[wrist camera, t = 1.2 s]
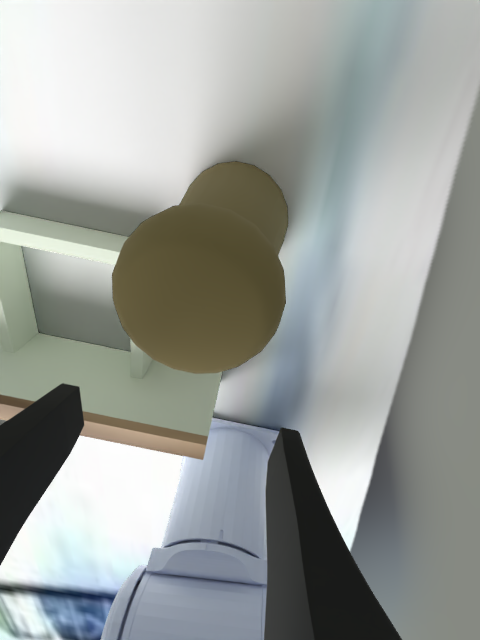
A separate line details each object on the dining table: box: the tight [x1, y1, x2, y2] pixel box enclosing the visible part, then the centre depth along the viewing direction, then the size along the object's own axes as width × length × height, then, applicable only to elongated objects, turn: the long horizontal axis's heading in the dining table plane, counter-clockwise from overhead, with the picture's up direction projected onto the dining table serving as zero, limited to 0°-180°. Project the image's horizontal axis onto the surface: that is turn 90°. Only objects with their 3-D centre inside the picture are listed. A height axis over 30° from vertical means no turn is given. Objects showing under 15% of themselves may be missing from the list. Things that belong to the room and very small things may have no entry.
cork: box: [112, 161, 288, 374], centre depth 13 cm, size 6×6×11 cm
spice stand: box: [0, 210, 222, 460], centre depth 18 cm, size 10×20×7 cm, turn 80°
